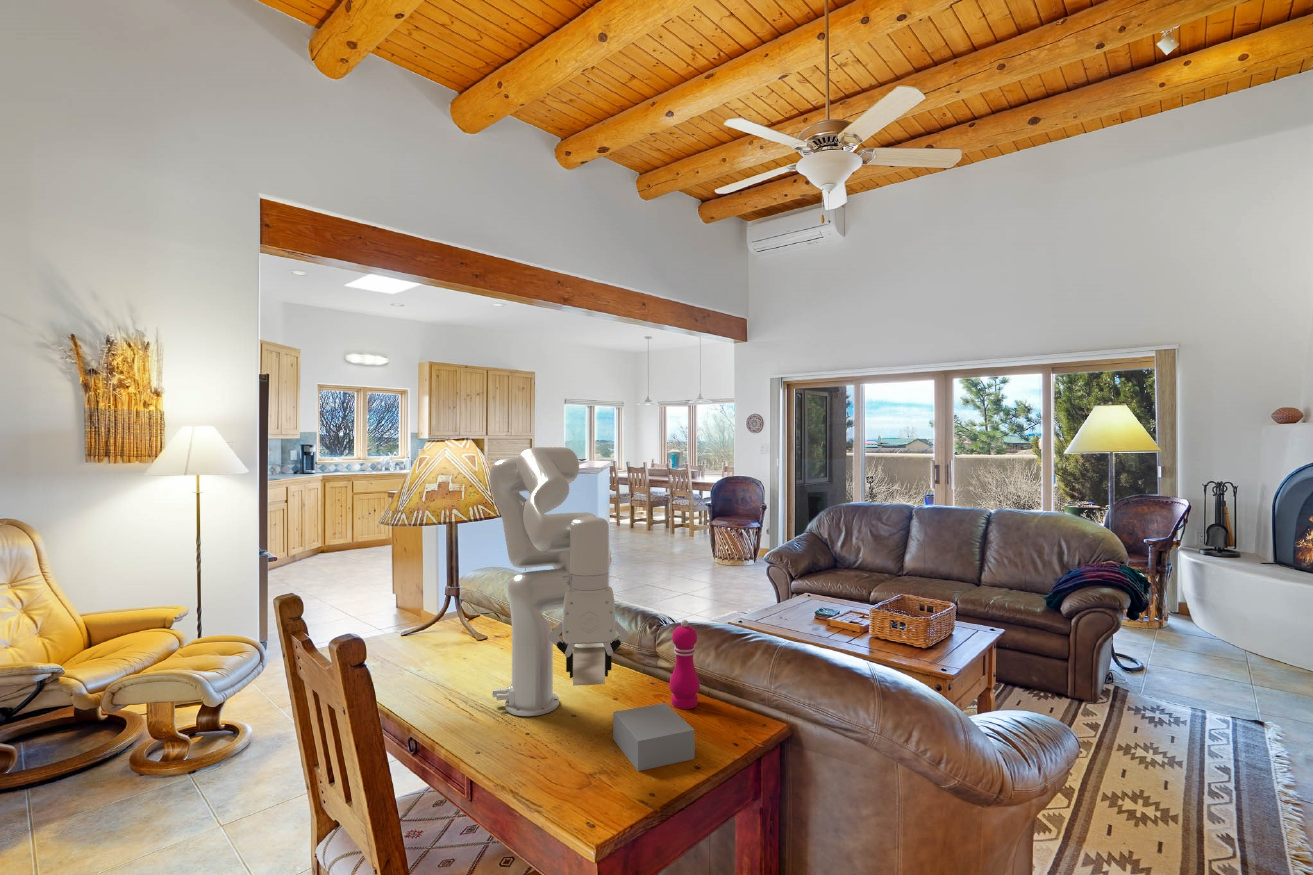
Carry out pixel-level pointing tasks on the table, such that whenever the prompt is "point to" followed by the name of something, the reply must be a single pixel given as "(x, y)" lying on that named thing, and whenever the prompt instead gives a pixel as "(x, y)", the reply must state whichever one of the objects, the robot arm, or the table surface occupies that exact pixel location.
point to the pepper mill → (684, 668)
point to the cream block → (588, 664)
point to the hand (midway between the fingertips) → (588, 673)
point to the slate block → (653, 736)
